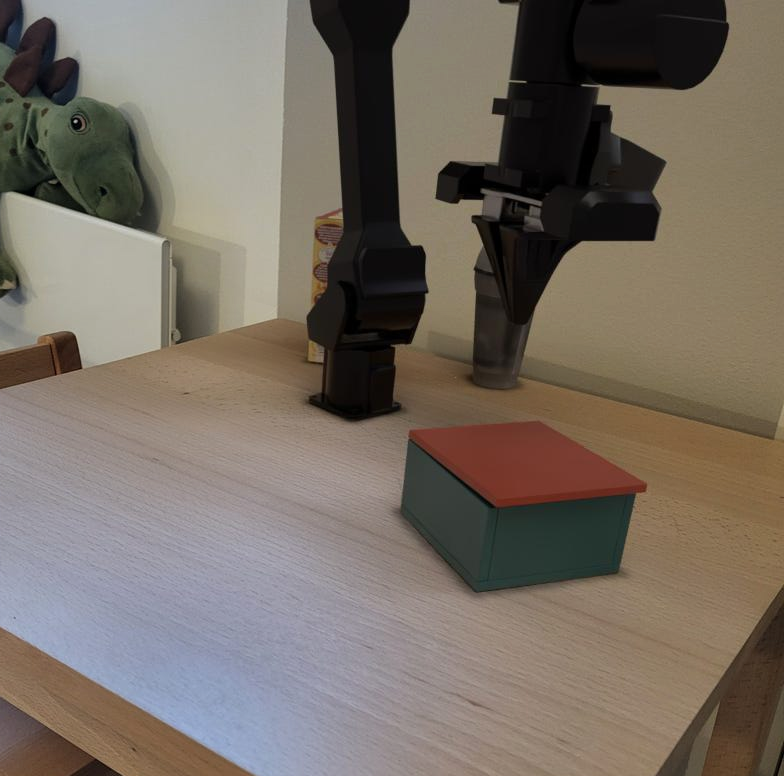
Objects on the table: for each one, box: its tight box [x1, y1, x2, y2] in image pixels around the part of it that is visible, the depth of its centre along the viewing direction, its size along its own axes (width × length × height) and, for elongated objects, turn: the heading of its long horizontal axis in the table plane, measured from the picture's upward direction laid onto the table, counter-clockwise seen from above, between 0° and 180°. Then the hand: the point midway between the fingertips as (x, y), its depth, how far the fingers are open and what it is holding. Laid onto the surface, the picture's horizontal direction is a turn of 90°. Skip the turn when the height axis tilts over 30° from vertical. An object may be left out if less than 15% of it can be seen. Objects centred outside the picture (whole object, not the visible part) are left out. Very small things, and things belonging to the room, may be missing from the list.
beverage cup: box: [471, 245, 536, 390], centre depth 92 cm, size 7×7×20 cm
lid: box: [408, 420, 648, 508], centre depth 60 cm, size 12×10×1 cm
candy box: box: [307, 207, 343, 364], centre depth 99 cm, size 9×4×15 cm, turn 161°
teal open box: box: [399, 438, 637, 593], centre depth 61 cm, size 11×10×6 cm
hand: (517, 323), depth 65 cm, fingers closed
